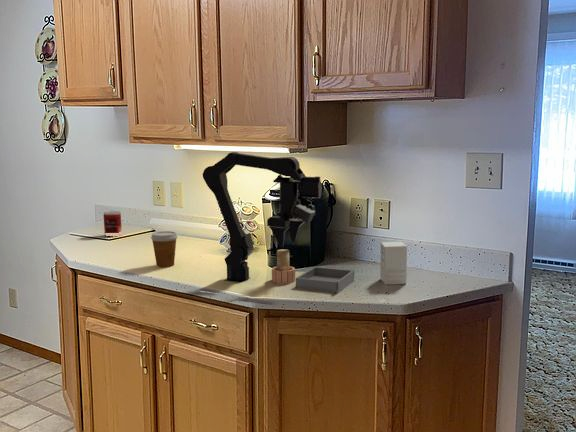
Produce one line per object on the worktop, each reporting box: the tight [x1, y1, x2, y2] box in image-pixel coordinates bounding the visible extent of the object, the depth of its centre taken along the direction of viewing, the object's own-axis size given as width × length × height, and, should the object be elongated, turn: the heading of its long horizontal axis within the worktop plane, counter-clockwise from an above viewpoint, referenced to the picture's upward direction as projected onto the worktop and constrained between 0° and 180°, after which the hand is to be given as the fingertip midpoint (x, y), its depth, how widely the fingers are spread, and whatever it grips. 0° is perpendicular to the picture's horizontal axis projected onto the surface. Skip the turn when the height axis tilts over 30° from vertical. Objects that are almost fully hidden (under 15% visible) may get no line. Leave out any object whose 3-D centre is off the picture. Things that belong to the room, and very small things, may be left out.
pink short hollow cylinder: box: [271, 265, 296, 285], centre depth 203 cm, size 8×8×4 cm
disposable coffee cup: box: [150, 230, 178, 268], centre depth 227 cm, size 10×10×12 cm
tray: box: [295, 266, 355, 294], centre depth 199 cm, size 14×16×4 cm
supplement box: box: [379, 241, 408, 285], centre depth 202 cm, size 7×7×13 cm
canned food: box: [103, 210, 122, 234], centre depth 286 cm, size 8×8×11 cm
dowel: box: [276, 248, 291, 271], centre depth 202 cm, size 4×4×10 cm
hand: (287, 244), depth 200 cm, fingers open, 9 cm apart
